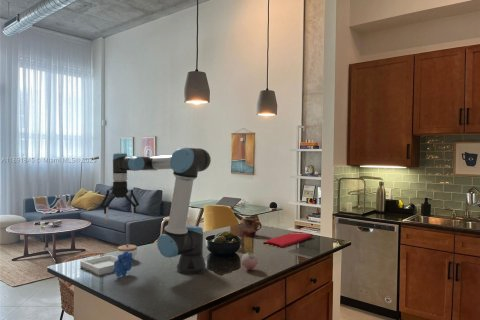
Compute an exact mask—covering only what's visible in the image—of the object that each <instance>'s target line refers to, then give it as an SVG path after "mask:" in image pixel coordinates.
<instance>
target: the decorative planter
mask: <svg viewBox="0 0 480 320" xmlns="http://www.w3.org/2000/svg"><path fill="white" fill-rule="evenodd" d="M239 225H240V227H241V230H242V232H241V233H242V234H241V235H242V236H243V235H246V236H245V237H247V236H251V237H254V236H253V235H255V236H256V234H257V232H258V231H260V230H261V229H262V223H261V221H260V220H259V221H258V218H257V217H255V216H243V217H242V218H241V220H240V224H239Z"/></svg>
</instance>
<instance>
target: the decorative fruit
mask: <svg viewBox="0 0 480 320" xmlns="http://www.w3.org/2000/svg"><path fill="white" fill-rule="evenodd" d="M240 261H241V265H242V266H243V267H244V268H245V269H247V270H249V271H251V270H253V269H254V268H256V267H257V265H258V261H259V258H258V257H257V256H256V255H255V254H254V253H252V252H251V251H247V252H246V253H244V254H243V255H242V257H241V260H240Z"/></svg>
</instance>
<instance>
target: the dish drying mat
mask: <svg viewBox="0 0 480 320" xmlns="http://www.w3.org/2000/svg"><path fill="white" fill-rule="evenodd" d="M313 236H314V235H313V233H309V232H301V231H293V232H291V233H287V234H284V235H281V236H277V237H274V238H270V239H267V241H264V242H263V243H262V244H263V245H265V244H269V245H268V246H270V245H273V246H272V247H274V246H277V247H276V248H279V247H280V248H279V249H281V247H282V248H285V247H289V246H291V245H293V244H294V243H295V244H297V243H299V242H302V241H306V240H308V239H309V238H312V237H313ZM288 245H289V246H288Z"/></svg>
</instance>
